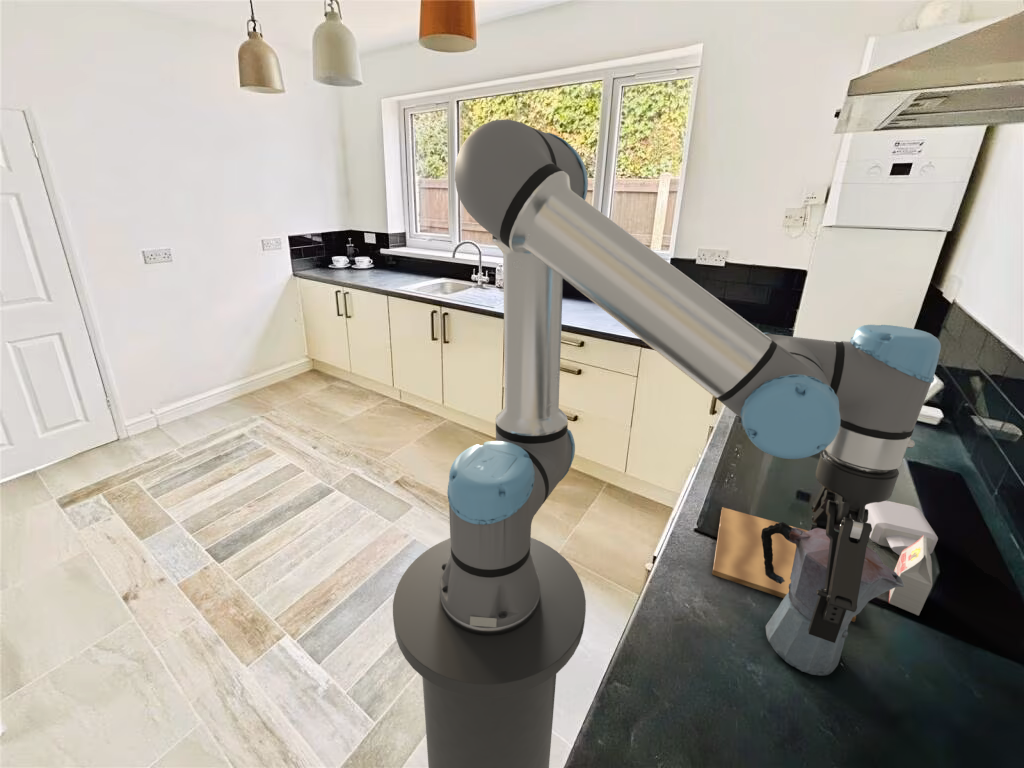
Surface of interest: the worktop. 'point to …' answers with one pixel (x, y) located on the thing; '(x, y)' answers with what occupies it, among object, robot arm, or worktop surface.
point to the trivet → (752, 553)
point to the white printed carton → (913, 577)
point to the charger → (898, 526)
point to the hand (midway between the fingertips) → (815, 597)
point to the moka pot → (815, 598)
